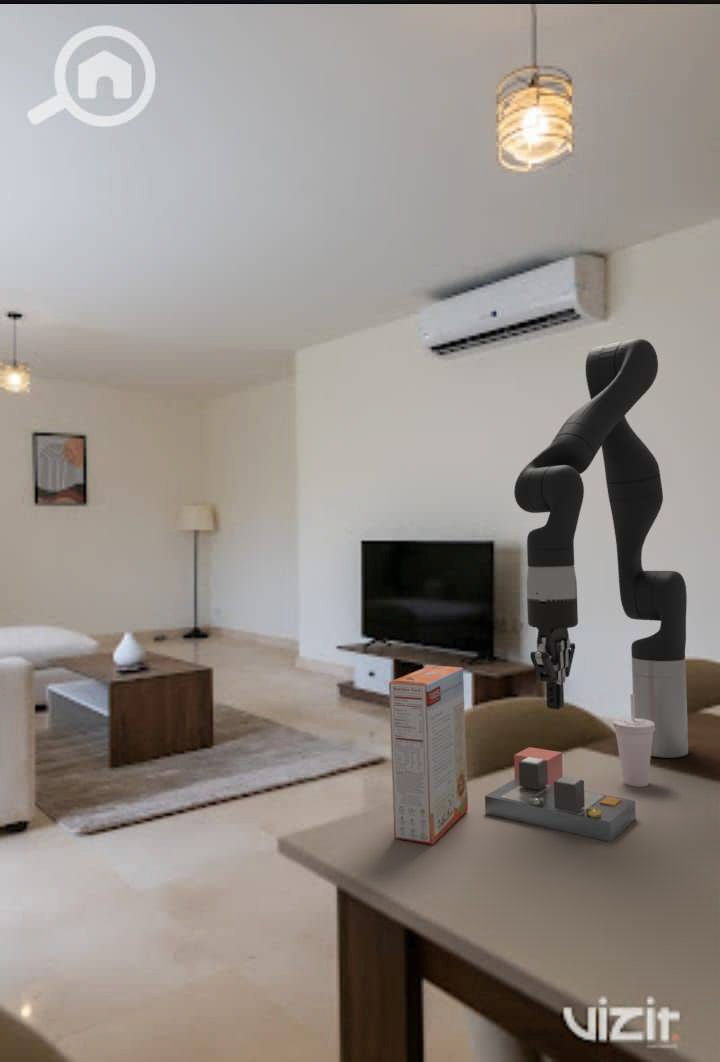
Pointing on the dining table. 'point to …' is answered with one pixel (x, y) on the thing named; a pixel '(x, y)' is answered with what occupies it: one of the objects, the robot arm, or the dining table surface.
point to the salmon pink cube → (550, 756)
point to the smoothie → (634, 747)
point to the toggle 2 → (569, 794)
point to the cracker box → (428, 752)
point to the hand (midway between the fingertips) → (555, 707)
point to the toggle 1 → (533, 773)
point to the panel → (562, 811)
